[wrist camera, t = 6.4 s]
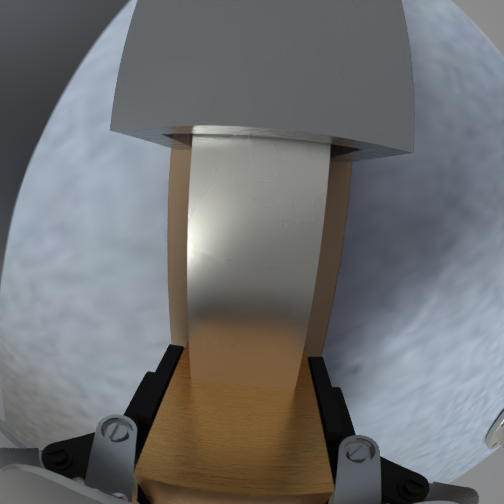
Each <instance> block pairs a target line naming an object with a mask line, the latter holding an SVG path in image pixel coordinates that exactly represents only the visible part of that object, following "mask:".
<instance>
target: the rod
mask: <svg viewBox="0 0 504 504" xmlns="http://www.w3.org/2000/svg"><path fill="white" fill-rule="evenodd" d="M330 148H331V144H328V143H321V142H313V141H306V140H297V139H288V138H278V137H266V136H252V135H234V134H193V141H192V154H191V168H190V185H189V206H188V240H187V304H188V337H189V339H188V341H187V344H186V346H185V348H184V351H183V353H182V355H181V358H180V360H179V362H178V365H177V367H176V369H175V372H174V374H173V376H172V379H171V381H170V384H169V386H168V388H167V391H166V393H165V396H164V398H163V400H162V403H161V405H160V408H159V410H158V413H157V415H156V418H155V420H154V422H153V425H152V427H151V430H150V432H149V435H148V437H147V440H146V442H145V445H144V447H143V450H142V453H141V455H140V458H139V460H138V463H137V465H136V468H135V471H134V473H133V475H134V477H135V478H136V480H137V482H138V484H139V485H140V487H141V489H142V490H143V492H144V494H145V495H146V497H147V499H148V500H149V502H150V503H151V504H325V503H326V502H327V501H328V499H329V498H330V497H331V496H332V494H333V493H334V492H335V490H334V485H333V479H332V474H331V469H330V464H329V458H328V453H327V448H326V443H325V438H324V433H323V428H322V424H321V419H320V414H319V409H318V405H317V400H316V396H315V391H314V387H313V382H312V378H311V373H310V369H309V364H308V360H307V356H306V351H305V347H304V345H305V339H306V334H307V329H308V324H309V318H310V313H311V307H312V301H313V295H314V289H315V282H316V276H317V269H318V262H319V255H320V248H321V240H322V232H323V224H324V215H325V206H326V196H327V186H328V175H329V162H330Z"/></svg>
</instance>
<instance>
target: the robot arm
mask: <svg viewBox="0 0 504 504" xmlns="http://www.w3.org/2000/svg"><path fill="white" fill-rule="evenodd" d="M183 351H184V347H183V346H179V345H172V344H170V345H169V346H168V348H167V350H166V352H165V354H164V356H163V358H162V360H161V362H160V364H159V366H158V368H157V370H156V371H155V373H154V372H149V371H148V372H147V373H146V374H145V376H144V378H143V380H142V381H141V383H140V385H139V387H138V389H137V391H136V392H135V394H134V396H133V398H132V400H131V402H130V404H129V406H128V408H127V409H126V411H125V413H124V415H110V416H107V417H105V418H103V419H102V420H101V421H100V422H99V423H98V425H97V428H96V432H94V433H91V434H87V435H84V436H80V437H76V438H72V439H68V440H64V441H60V442H55V443H52V444H49V445H48V446H46V447H45V448H44V450H40V449H39V448H0V504H151V503H150V502H149V500H148V499H147V497H146V495H145V494H144V492H143V490H142V489H141V487H140V485H139V484H138V482H137V480H136V478H135V477H134V475H133V473H134V471H135V468H136V465H137V463H138V460H139V458H140V455H141V453H142V450H143V447H144V445H145V442H146V440H147V437H148V435H149V432H150V430H151V427H152V425H153V422H154V420H155V418H156V415H157V413H158V410H159V408H160V405H161V403H162V400H163V398H164V396H165V393H166V391H167V388H168V386H169V384H170V381H171V379H172V376H173V374H174V372H175V369H176V367H177V365H178V362H179V360H180V358H181V355H182V353H183ZM307 360H308V364H309V369H310V373H311V378H312V382H313V387H314V391H315V396H316V400H317V405H318V409H319V414H320V419H321V424H322V428H323V433H324V438H325V443H326V448H327V453H328V458H329V464H330V469H331V474H332V479H333V485H334V490H335V492H334V493H333V494H332V496H331V497H330V498H329V499H328V501H327V502H326V503H325V504H478V502H479V496H478V494H477V492H476V491H475V490H474V489H472V488H469V487H461V486H455V485H449V484H444V483H439V482H433V483H432V484H431V483H428V480H427V479H426V478H425V477H424V476H422V475H420V474H418V473H416V472H413V471H411V470H409V469H407V468H404V467H402V466H400V465H398V464H395V463H393V462H391V461H389V460H387V459H385V458H383V457H381V456H380V450H379V446H378V445H377V443H376V442H375V441H374V440H373V439H371V438H369V437H367V436H363V435H356V434H355V431H354V428H353V425H352V421H351V418H350V415H349V412H348V409H347V406H346V403H345V400H344V397H343V394H342V391H341V389H340V388H339V387H332V386H331V382H330V379H329V376H328V372H327V369H326V366H325V363H324V359H323V357H308V359H307ZM485 443H486V445H487V447H488V448H489V449H492V448H496V447H498V446H500V445H501V444H502V446H503V447H504V411H503V412H502V414H501V415H500V416H499V418H498V419H497V420H496V422H495V423H494V425H493V426H492V428H491V429H490V431H489V433H488V435H487V437H486V440H485Z"/></svg>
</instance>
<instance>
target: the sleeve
mask: <svg viewBox="0 0 504 504" xmlns="http://www.w3.org/2000/svg"><path fill="white" fill-rule="evenodd" d="M110 130H111V131H115V132H118V133H122V134H126V135H129V136H133V137H136V138H140V139H143V140H147V141H150V142H153V143H157V144H160V145H163V146H166V147H169V148H173V149H176V150H192V141H193V134H234V135H252V136H266V137H278V138H288V139H297V140H306V141H313V142H321V143H328V144H331V148H330V160H332V161H339V162H345V163H348V162H354V161H360V160H367V159H373V158H380V157H387V156H395V155H402V154H411V153H414V92H413V76H412V65H411V55H410V47H409V40H408V33H407V27H406V21H405V16H404V11H403V6H402V2H401V0H138V1H137V4H136V7H135V10H134V13H133V16H132V20H131V23H130V27H129V30H128V34H127V38H126V42H125V46H124V50H123V54H122V58H121V63H120V68H119V73H118V78H117V84H116V89H115V95H114V102H113V109H112V117H111V125H110Z"/></svg>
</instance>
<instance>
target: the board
mask: <svg viewBox="0 0 504 504" xmlns="http://www.w3.org/2000/svg"><path fill="white" fill-rule="evenodd" d="M191 154H192V150H176V149H173V148H171V158H170V173H169V194H168V292H169V313H170V329H171V342H172V345H179V346H183V347H184V348H185V346H186V344H187V341H188V339H189V337H188V304H187V240H188V206H189V185H190V168H191ZM351 167H352V162H348V163H345V162H339V161H332V160H330V162H329V175H328V186H327V196H326V206H325V215H324V224H323V232H322V240H321V248H320V255H319V262H318V269H317V276H316V282H315V289H314V295H313V301H312V307H311V313H310V318H309V324H308V329H307V334H306V339H305V345H304V347H305V351H306V356H307V359H308V357H321V354H322V350H323V346H324V341H325V337H326V333H327V328H328V324H329V319H330V314H331V309H332V304H333V299H334V294H335V289H336V283H337V277H338V272H339V266H340V259H341V253H342V246H343V240H344V232H345V225H346V217H347V208H348V199H349V190H350V179H351Z"/></svg>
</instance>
